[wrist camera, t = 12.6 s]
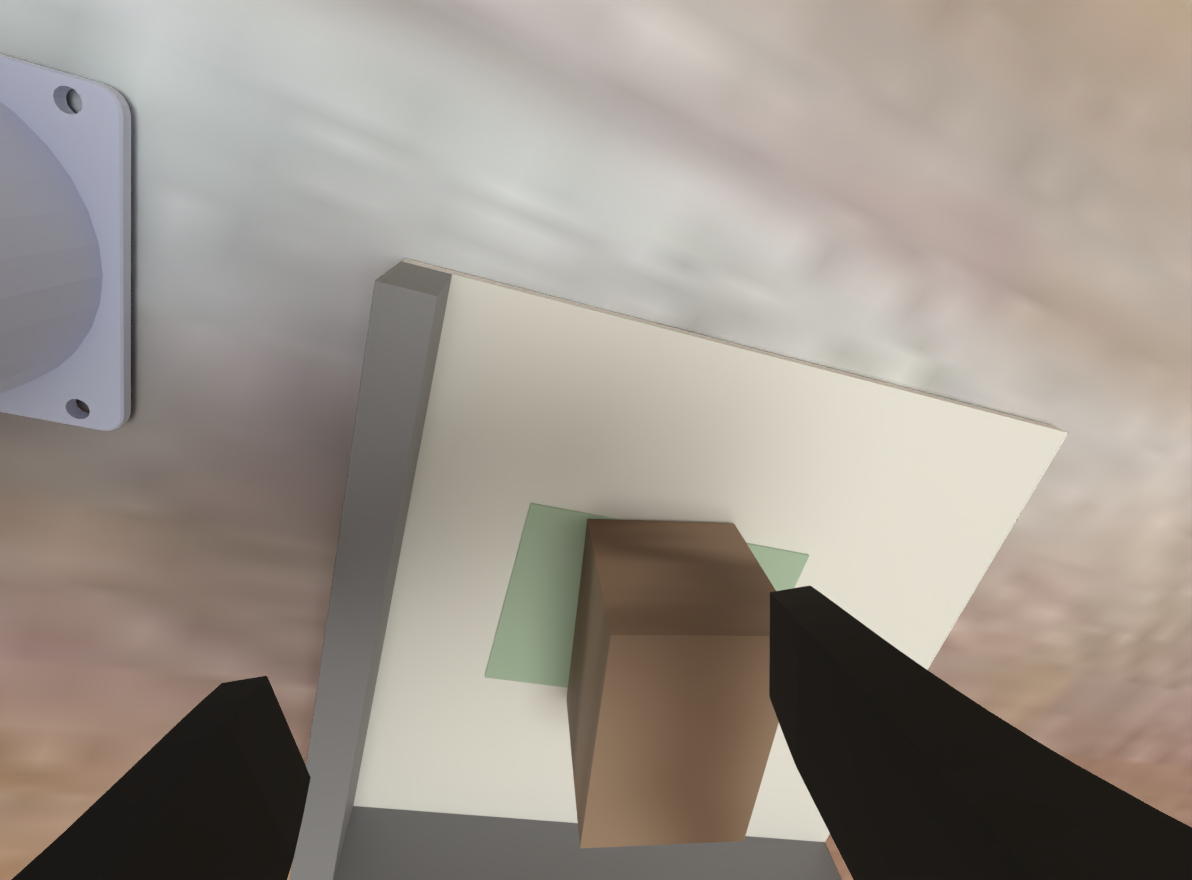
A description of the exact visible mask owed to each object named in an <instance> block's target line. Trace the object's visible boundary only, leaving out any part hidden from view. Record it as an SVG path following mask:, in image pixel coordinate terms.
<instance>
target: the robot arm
mask: <svg viewBox="0 0 1192 880" xmlns="http://www.w3.org/2000/svg"><path fill="white" fill-rule="evenodd" d="M71 89H74V90H75V91H76V92H77V93H78V94H79V96H80V98H81V101H82V108H81V111H80V112H78V113H77V114H76V113H74V112H73V111H72V110H71V109H70V108H69V106H68V104H67V101H66V96H67V92H68V91H69V90H71ZM76 399H78V400H81V401H83V402H84V403H85V404H86V405H87V406H88V407H89V410H90V413H86V412H83V411H82V410H81V409H80V408H79V407H78V406H77V403H76ZM0 412H2V413H7V414H13V415H18V416H24V417H29V418H35V419H40V420H46V421H51V422H57V423H62V424H67V425H73V426H78V427H84V428H89V429H95V430H100V431H112V430H115V429H117V428H119V427H121V426H122V425H124V424H125V423H126V422H127V421H128V420H129V418H130V414H131V114H130V108H129V105H128V104H127V102H126V100H125V98H124V97H123V96H122V95H121V94H120V93H119V92H118V91H117V90H116V89H115V88H113V87H111V86H109V85H106V84H104V83H101V82H97V81H94V80H90V79H87V78H83V77H80V76H76V75H73V74H69V73H66V72H62V71H59V70H55V69H52V68H48V67H45V66H42V65H38V64H35V63H31V62H28V61H24V60H21V59H17V58H14V57H10V56H7V55H3V54H0ZM769 697H770V700H771V702H772V705H773V708H774V711H775V713H776V716H777V719H778V721H779V724H780V727H781V729H782V732H783V735H784V737H785V740H786V742H787V745H788V747H789V750H790V753H791V755H792V758H793V760H794V763H795V765H796V767H797V769H798V771H799V773H800V775H801V777H802V779H803V781H804V783H805V785H806V787H807V789H808V791H809V793H810V795H811V797H812V799H813V801H814V803H815V805H816V807H817V809H818V811H819V813H820V815H821V817H822V819H823V821H824V823H825V825H826V827H827V829H828V830H829V832H830V834H831V836H832V838H833V840H834V842H835V844H836V846H837V848H838V850H839V852H840V854H841V856H842V858H843V860H844V862H845V864H846V865H847V867H848V869H849V871H850V873H851V875H852V877H853V879H854V880H1192V828H1191V827H1189V826H1188V825H1186V824H1184V823H1182V822H1180V821H1178V820H1176V819H1174V818H1172V817H1170V816H1168V815H1166V814H1165V813H1163V812H1161V811H1159V810H1157V809H1155V808H1153V807H1151V806H1150V805H1148V804H1146V803H1144V802H1142V801H1141V800H1139V799H1137V798H1135V797H1133V796H1132V795H1130V794H1128V793H1126V792H1124V791H1123V790H1121V789H1119V788H1117V787H1115V786H1114V785H1112V784H1110V783H1108V782H1106V781H1105V780H1103V779H1101V778H1099V777H1098V776H1096V775H1094V774H1092V773H1090V772H1089V771H1087V770H1085V769H1083V768H1081V767H1080V766H1078V765H1076V764H1074V763H1073V762H1071V761H1069V760H1068V759H1066V758H1064V757H1062V756H1061V755H1059V754H1057V753H1056V752H1054V751H1052V750H1051V749H1049V748H1047V747H1046V746H1044V745H1042V744H1041V743H1039V742H1037V741H1036V740H1034V739H1033V738H1031V737H1029V736H1028V735H1026V734H1025V733H1023V732H1021V731H1020V730H1018V729H1017V728H1015V727H1013V726H1012V725H1010V724H1009V723H1007V722H1005V721H1004V720H1002V719H1001V718H999V717H997V716H996V715H994V714H993V713H991V712H989V711H988V710H986V709H985V708H983V707H982V706H980V705H979V704H977V703H976V702H974V701H973V700H971V699H969V698H968V697H966V696H965V695H963V694H962V693H960V692H959V691H957V690H956V689H954V688H953V687H951V686H950V685H948V684H947V683H945V682H944V681H943V680H941V679H940V678H938V677H937V676H935V675H934V674H932V673H931V672H929V671H928V670H927V669H925V668H924V667H922V666H921V665H919V664H918V663H916V662H915V661H914V660H912V659H911V658H909V657H908V656H907V655H905V654H904V653H902V652H901V651H900V650H898V649H897V648H895V647H894V646H893V645H891V644H890V643H888V642H887V641H886V640H884V639H883V638H882V637H880V636H879V635H877V634H876V633H875V632H873V631H872V630H871V629H869V628H868V627H866V626H865V625H864V624H862V623H861V622H860V621H858V620H857V619H856V618H854V617H853V616H851V615H850V614H849V613H847V612H846V611H845V610H843V609H842V608H841V607H839V606H838V605H837V604H835V603H834V602H833V601H831V600H830V599H828V598H827V597H826V596H824V595H823V594H822V593H820V592H819V591H817V590H816V589H815V588H813V587H812V586H804V587H798V588H792V589H786V590H780V591H774V592H770V666H769ZM310 778H311V777H310V775H309V773H308V770H307V768H306V766H305V763H304V761H303V759H302V756H301V754H300V752H299V749H298V747H297V745H296V742H295V740H294V738H293V736H292V733H291V731H290V729H289V726H288V724H287V722H286V719H285V717H284V715H283V712H282V710H281V708H280V705H279V703H278V701H277V698H276V696H275V694H274V691H273V689H272V687H271V684H270V682H269V680H268V678H267V676H263V677H257V678H251V679H245V680H238V681H232V682H226V683H222V684H221V685H219V686H218V687H217V688H216V689H215V690H214V691H213V692H211V693H210V694H209V695H208V696H207V697H206V698H205V699H204V700H202V701H201V702H200V703H199V704H198V705H197V706H196V707H195V708H194V709H193V710H192V711H191V712H190V713H188V714H187V715H186V716H185V717H184V718H183V719H182V720H181V721H180V722H179V723H178V724H177V725H176V726H175V727H174V728H173V729H172V730H171V731H170V732H168V733H167V734H166V735H165V736H164V737H163V738H162V739H161V740H160V741H159V742H158V743H157V744H156V745H155V746H154V747H153V748H152V749H151V750H150V751H149V752H148V753H147V754H146V755H145V756H144V757H142V758H141V759H140V760H139V761H138V762H137V763H136V764H135V765H134V766H133V767H132V768H131V769H130V770H129V771H128V772H127V773H126V774H125V775H124V776H123V777H122V778H121V779H119V780H118V781H117V782H116V783H115V784H114V785H113V786H112V787H111V788H110V789H109V790H108V791H107V792H106V793H105V794H104V795H103V796H102V797H101V798H99V799H98V800H97V801H96V802H95V803H94V804H93V805H92V806H91V807H90V808H89V809H88V810H87V811H86V812H85V813H84V814H83V815H82V816H81V817H80V818H78V819H77V820H76V821H75V822H74V823H73V824H72V825H71V826H70V827H69V828H68V829H67V830H66V831H65V832H64V833H63V834H62V835H60V836H59V837H58V838H57V839H56V840H55V841H54V842H53V843H52V844H51V845H50V846H48V847H47V848H46V849H45V850H44V851H43V852H42V853H41V854H40V855H38V856H37V857H36V858H35V859H34V860H33V861H32V862H31V863H30V864H28V865H27V866H26V867H25V868H24V869H23V870H22V871H21V872H20V873H18V874H17V875H16V876H15V877H14V878H13V879H12V880H287V877H288V874H289V871H290V868H291V865H292V862H293V858H294V854H295V850H296V846H297V841H298V837H299V832H300V828H301V824H302V819H303V814H304V809H305V804H306V799H307V794H308V789H309V784H310Z"/></svg>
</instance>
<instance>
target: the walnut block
mask: <svg viewBox="0 0 1192 880" xmlns="http://www.w3.org/2000/svg"><path fill="white" fill-rule="evenodd" d="M774 591H776V590H775V588H774V587H773V585H772V584H771V582H770V580H769V579H768V577H767V575H766V574H765V572H764V571H763V569H762V567H761V566H760V564H759V563H758V561H757V559H756V558H755V556H754V555H753V553H752V551H751V550H750V548H749V546H748V545H747V543H746V542H745V540H744V538H743V537H742V535H741V534H740V532H739V530H738V529H737V527H736V525H735V524H730V523H701V522H672V521H644V520H615V519H587V527H586V535H585V544H584V553H583V561H582V570H581V579H580V587H579V596H578V605H577V613H576V622H575V630H574V639H573V648H572V656H571V665H570V674H569V682H568V691H567V711H568V722H569V733H570V744H571V755H572V766H573V777H574V788H575V799H576V810H577V821H578V832H579V843H580V848H601V847H624V846H646V845H668V844H691V843H713V842H735V841H744V839H745V836H746V832H747V829H748V825H749V822H750V819H751V815H752V812H753V808H754V805H755V802H756V798H757V795H758V791H759V788H760V785H761V781H762V778H763V774H764V771H765V768H766V764H767V761H768V757H769V754H770V751H771V747H772V744H773V740H774V737H775V734H776V730H777V727H778V723H779V721H778V719H777V716H776V713H775V711H774V708H773V705H772V702H771V700H770V697H769V666H770V592H774Z"/></svg>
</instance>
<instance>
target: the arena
mask: <svg viewBox="0 0 1192 880" xmlns="http://www.w3.org/2000/svg"><path fill="white" fill-rule="evenodd" d="M1067 434H1068V433H1067V432H1065V431H1063V430H1061V429H1059V428H1057V427H1055V426H1052V425H1048V424H1045V423H1041V422H1037V421H1033V420H1029V419H1025V418H1021V417H1017V416H1014V415H1010V414H1006V413H1002V412H998V411H994V410H990V409H987V408H983V407H979V406H975V405H971V404H967V403H963V402H959V401H956V400H952V399H948V398H944V397H940V396H936V395H932V394H929V393H925V392H921V391H917V390H913V389H909V388H905V387H902V386H898V385H894V384H890V383H886V382H882V381H878V380H874V379H871V378H867V377H863V376H859V375H855V374H851V373H847V372H844V371H840V370H836V369H832V368H828V367H824V366H820V365H816V364H813V363H809V362H805V361H801V360H797V359H793V358H789V357H786V356H782V355H778V354H774V353H770V352H766V351H762V350H759V349H755V348H751V347H747V346H743V345H739V344H735V343H731V342H728V341H724V340H720V339H716V338H712V337H708V336H704V335H701V334H697V333H693V332H689V331H685V330H681V329H677V328H673V327H670V326H666V325H662V324H658V323H654V322H650V321H646V320H643V319H639V318H635V317H631V316H627V315H623V314H619V313H615V312H612V311H608V310H604V309H600V308H596V307H592V306H588V305H585V304H581V303H577V302H573V301H569V300H565V299H561V298H558V297H554V296H550V295H546V294H542V293H538V292H534V291H530V290H527V289H523V288H519V287H515V286H511V285H507V284H503V283H500V282H496V281H492V280H488V279H484V278H480V277H476V276H472V275H469V274H465V273H461V272H457V271H453V270H449V269H445V268H442V267H438V266H434V265H430V264H426V263H422V262H418V261H414V260H411V259H407V258H406V259H404V260H403V261H401V262H400V263H399V264H397V265H396V266H395V267H393V268H392V269H391V270H389V271H388V272H386V273H385V274H384V275H382V276H381V277H380V278H378V279H377V280H376V281H375V285H374V292H373V299H372V306H371V313H370V320H369V327H368V334H367V341H366V348H365V355H364V362H363V369H362V376H361V383H360V390H359V397H358V404H357V411H356V418H355V426H354V433H353V440H352V447H351V454H350V461H349V468H348V475H347V482H346V489H345V496H344V503H343V510H342V517H341V524H340V531H339V538H338V545H337V552H336V559H335V566H334V573H333V580H332V587H331V594H330V602H329V609H328V616H327V623H326V630H325V637H324V644H323V651H322V658H321V665H320V672H319V679H318V686H317V693H316V700H315V707H314V714H313V721H312V728H311V735H310V742H309V749H308V756H307V763H306V768H307V770H308V773H309V775H310V777H311V778H310V784H309V789H308V794H307V799H306V804H305V809H304V814H303V819H302V824H301V828H300V832H299V837H298V841H297V846H296V850H295V854H294V858H293V862H292V869H291V876H290V880H842V878H841V876H840V874H839V872H838V870H837V867H836V865H835V863H834V861H833V859H832V857H831V854H830V852H829V850H828V848H827V846H826V844H825V841H826V839H827V838H828V836H829V834H830V832H829V830H828V829H827V827H826V825H825V823H824V821H823V819H822V817H821V815H820V813H819V811H818V809H817V807H816V805H815V803H814V801H813V799H812V797H811V795H810V793H809V791H808V789H807V787H806V785H805V783H804V781H803V779H802V777H801V775H800V773H799V771H798V769H797V767H796V765H795V763H794V760H793V758H792V755H791V753H790V750H789V747H788V745H787V742H786V740H785V737H784V735H783V732H782V729H781V727H780V724H779V723H778V727H777V730H776V734H775V737H774V740H773V744H772V747H771V751H770V754H769V757H768V761H767V764H766V768H765V771H764V774H763V778H762V781H761V785H760V788H759V791H758V795H757V798H756V802H755V805H754V808H753V812H752V815H751V819H750V822H749V825H748V829H747V832H746V836H745V839H744V841H735V842H713V843H691V844H668V845H646V846H624V847H601V848H580V843H579V832H578V821H577V810H576V799H575V788H574V777H573V766H572V755H571V744H570V733H569V722H568V711H567V691H568V682H569V674H570V665H571V656H572V648H573V639H574V630H575V622H576V613H577V605H578V596H579V587H580V579H581V570H582V561H583V553H584V544H585V535H586V527H587V519H615V520H644V521H672V522H701V523H730V524H735V525H736V527H737V529H738V530H739V532H740V534H741V535H742V537H743V538H744V540H745V542H746V543H747V545H748V546H749V548H750V550H751V551H752V553H753V555H754V556H755V558H756V559H757V561H758V563H759V564H760V566H761V567H762V569H763V571H764V572H765V574H766V575H767V577H768V579H769V580H770V582H771V584H772V585H773V587H774V588H775V590H776V591H780V590H786V589H792V588H798V587H804V586H812V587H813V588H815V589H816V590H817V591H819V592H820V593H822V594H823V595H824V596H826V597H827V598H828V599H830V600H831V601H833V602H834V603H835V604H837V605H838V606H839V607H841V608H842V609H843V610H845V611H846V612H847V613H849V614H850V615H851V616H853V617H854V618H856V619H857V620H858V621H860V622H861V623H862V624H864V625H865V626H866V627H868V628H869V629H871V630H872V631H873V632H875V633H876V634H877V635H879V636H880V637H882V638H883V639H884V640H886V641H887V642H888V643H890V644H891V645H893V646H894V647H895V648H897V649H898V650H900V651H901V652H902V653H904V654H905V655H907V656H908V657H909V658H911V659H912V660H914V661H915V662H916V663H918V664H919V665H921V666H922V667H924V668H925V669H927V670H928V668H929V666H930V665H931V663H932V661H933V659H934V658H935V656H936V654H937V653H938V651H939V649H940V648H941V646H942V644H943V643H944V641H945V639H946V638H947V636H948V634H949V633H950V631H951V629H952V628H953V626H954V624H955V622H956V621H957V619H958V617H959V616H960V614H961V612H962V611H963V609H964V607H965V606H966V604H967V602H968V601H969V599H970V597H971V596H972V594H973V592H974V591H975V589H976V587H977V585H978V584H979V582H980V580H981V579H982V577H983V575H984V574H985V572H986V570H987V569H988V567H989V565H990V564H991V562H992V560H993V559H994V557H995V555H996V554H997V552H998V550H999V549H1000V547H1001V545H1002V543H1003V542H1004V540H1005V538H1006V537H1007V535H1008V533H1009V532H1010V530H1011V528H1012V527H1013V525H1014V523H1015V522H1016V520H1017V518H1018V517H1019V515H1020V513H1021V512H1022V510H1023V508H1024V506H1025V505H1026V503H1027V501H1028V500H1029V498H1030V496H1031V495H1032V493H1033V491H1034V490H1035V488H1036V486H1037V485H1038V483H1039V481H1040V480H1041V478H1042V476H1043V475H1044V473H1045V471H1046V469H1047V468H1048V466H1049V464H1050V463H1051V461H1052V459H1053V458H1054V456H1055V454H1056V453H1057V451H1058V449H1059V448H1060V446H1061V444H1062V443H1063V441H1064V439H1065V438H1066V436H1067Z"/></svg>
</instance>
